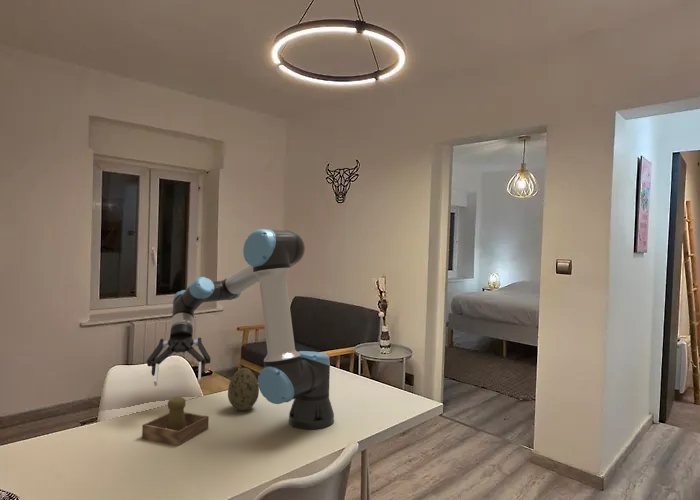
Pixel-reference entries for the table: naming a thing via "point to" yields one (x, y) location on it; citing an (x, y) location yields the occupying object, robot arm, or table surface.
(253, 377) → the decorative egg
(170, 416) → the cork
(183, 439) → the walnut box
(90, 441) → the table surface
